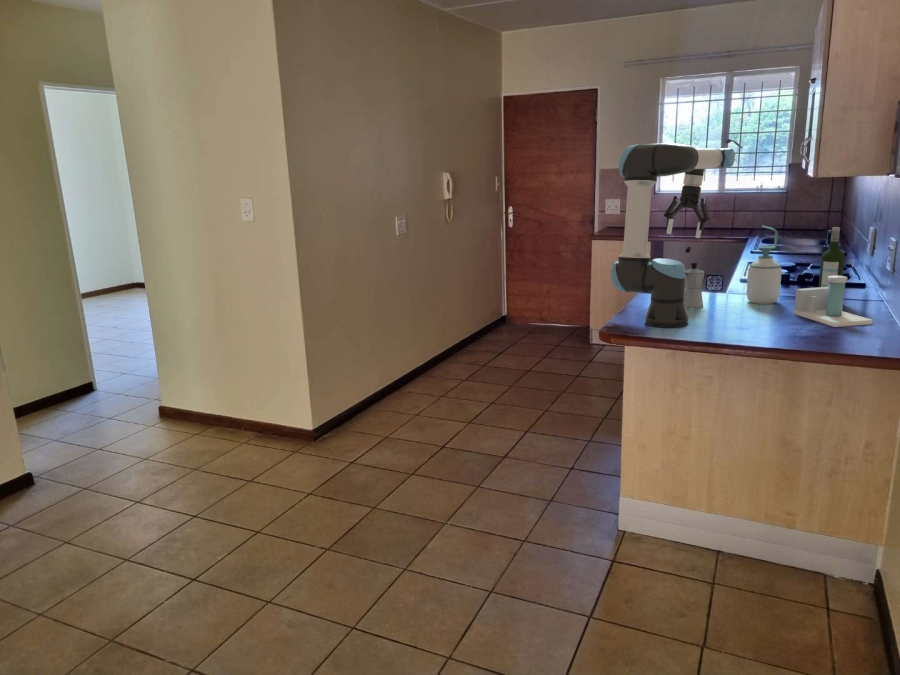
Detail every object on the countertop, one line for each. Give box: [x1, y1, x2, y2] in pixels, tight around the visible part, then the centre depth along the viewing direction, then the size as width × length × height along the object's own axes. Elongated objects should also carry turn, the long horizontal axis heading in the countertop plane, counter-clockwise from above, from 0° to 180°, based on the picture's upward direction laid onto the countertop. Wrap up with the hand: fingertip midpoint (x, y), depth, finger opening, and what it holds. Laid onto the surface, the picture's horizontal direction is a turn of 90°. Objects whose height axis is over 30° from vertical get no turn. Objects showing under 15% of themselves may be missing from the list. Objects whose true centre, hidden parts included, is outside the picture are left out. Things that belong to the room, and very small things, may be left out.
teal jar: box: [826, 275, 848, 316], centre depth 232 cm, size 6×6×14 cm
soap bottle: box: [746, 224, 783, 305], centre depth 262 cm, size 12×12×31 cm
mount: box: [793, 286, 873, 328], centre depth 234 cm, size 22×14×10 cm, turn 7°
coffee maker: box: [684, 262, 707, 309], centre depth 263 cm, size 15×9×18 cm, turn 129°
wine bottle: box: [818, 226, 846, 287], centre depth 255 cm, size 8×8×30 cm
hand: (682, 236), depth 280 cm, fingers open, 13 cm apart
